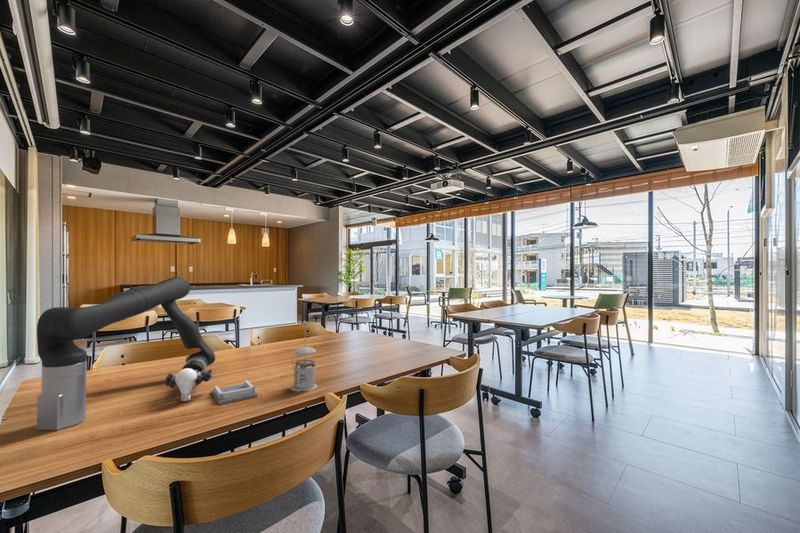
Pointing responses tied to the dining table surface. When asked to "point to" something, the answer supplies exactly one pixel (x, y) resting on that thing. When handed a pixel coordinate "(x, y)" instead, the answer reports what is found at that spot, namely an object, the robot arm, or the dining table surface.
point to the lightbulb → (185, 382)
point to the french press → (304, 369)
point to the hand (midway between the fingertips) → (184, 384)
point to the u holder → (234, 393)
